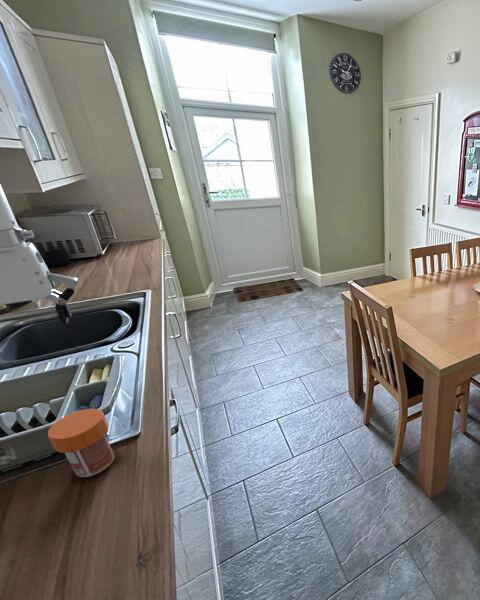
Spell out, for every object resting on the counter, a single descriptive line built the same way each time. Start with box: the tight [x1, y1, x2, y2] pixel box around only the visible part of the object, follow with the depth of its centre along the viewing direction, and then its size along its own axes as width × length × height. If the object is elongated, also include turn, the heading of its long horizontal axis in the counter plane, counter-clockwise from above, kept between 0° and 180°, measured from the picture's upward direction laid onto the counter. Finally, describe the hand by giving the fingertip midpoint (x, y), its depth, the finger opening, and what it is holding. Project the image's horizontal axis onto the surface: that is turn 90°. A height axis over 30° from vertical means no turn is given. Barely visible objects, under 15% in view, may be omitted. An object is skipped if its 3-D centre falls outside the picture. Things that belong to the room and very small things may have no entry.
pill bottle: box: [64, 434, 115, 478], centre depth 66 cm, size 6×6×11 cm
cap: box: [47, 408, 109, 454], centre depth 64 cm, size 8×8×4 cm
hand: (31, 327), depth 63 cm, fingers open, 9 cm apart
